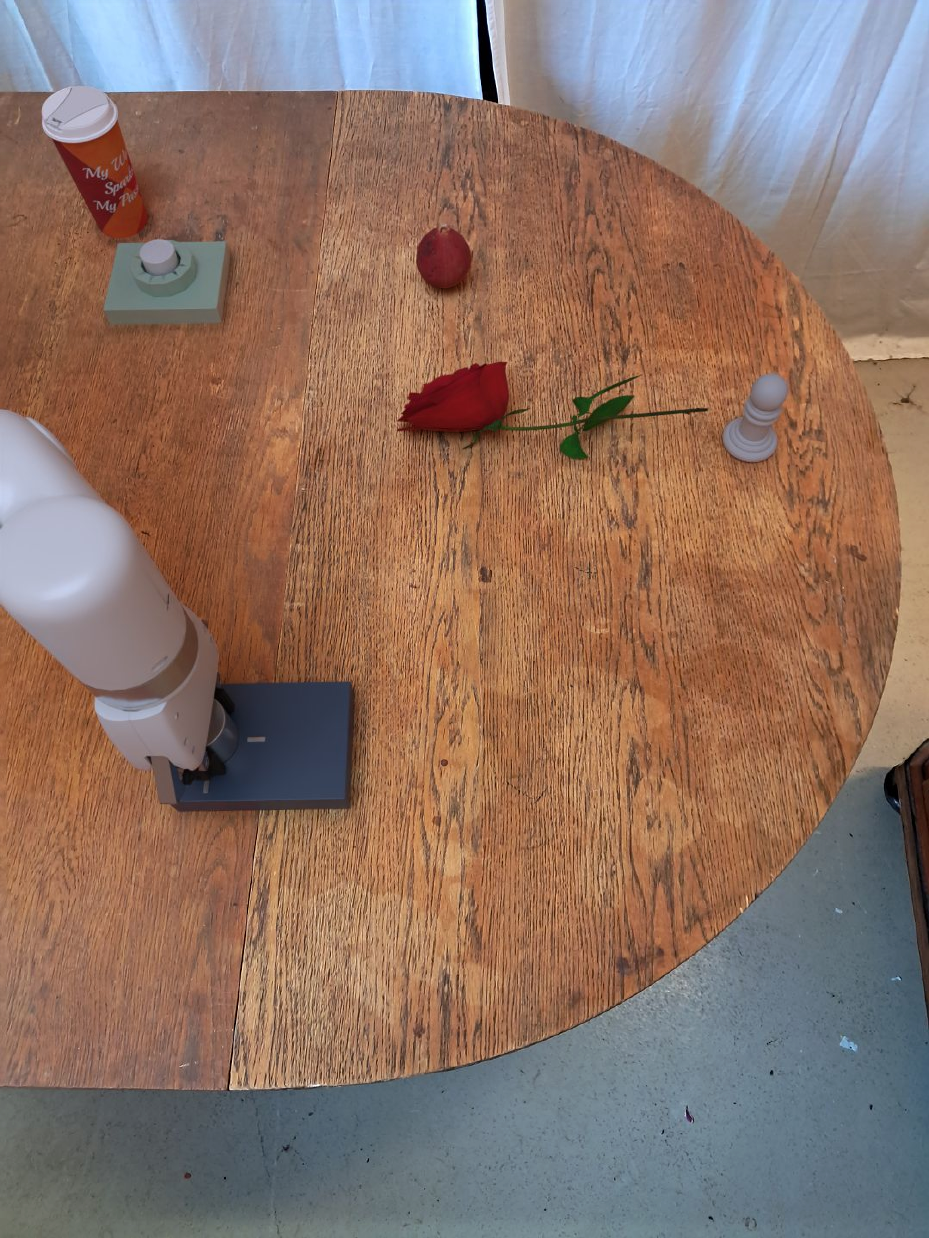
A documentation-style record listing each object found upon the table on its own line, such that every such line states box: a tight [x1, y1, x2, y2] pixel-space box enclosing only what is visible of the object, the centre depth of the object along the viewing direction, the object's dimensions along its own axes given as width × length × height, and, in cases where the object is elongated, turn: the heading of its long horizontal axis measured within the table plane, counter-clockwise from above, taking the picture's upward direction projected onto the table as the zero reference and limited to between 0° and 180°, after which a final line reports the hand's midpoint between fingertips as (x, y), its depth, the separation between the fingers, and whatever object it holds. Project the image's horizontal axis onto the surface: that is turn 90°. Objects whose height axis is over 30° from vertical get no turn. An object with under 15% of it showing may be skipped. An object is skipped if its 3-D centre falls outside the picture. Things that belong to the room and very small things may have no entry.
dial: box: [205, 699, 239, 763], centre depth 70 cm, size 4×4×5 cm
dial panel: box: [169, 680, 356, 813], centre depth 74 cm, size 15×10×3 cm, turn 91°
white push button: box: [140, 238, 179, 276], centre depth 95 cm, size 4×4×2 cm
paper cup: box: [41, 85, 148, 239], centre depth 97 cm, size 8×8×14 cm
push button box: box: [102, 239, 232, 326], centre depth 97 cm, size 12×10×4 cm
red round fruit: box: [415, 222, 472, 289], centre depth 95 cm, size 6×6×8 cm
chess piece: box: [722, 372, 789, 463], centre depth 85 cm, size 5×5×9 cm
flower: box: [396, 361, 709, 460], centre depth 86 cm, size 9×10×30 cm
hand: (210, 739), depth 72 cm, fingers closed on dial, 4 cm apart
